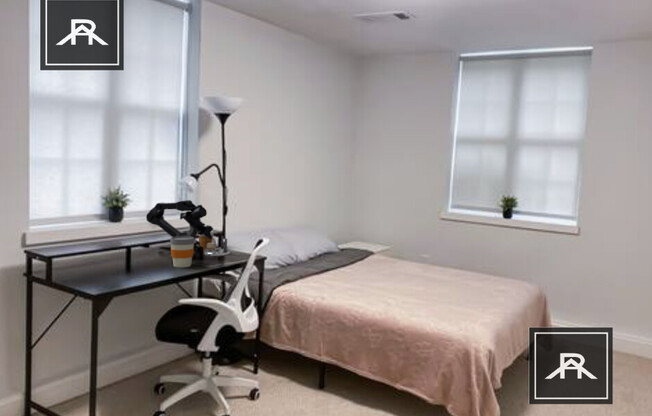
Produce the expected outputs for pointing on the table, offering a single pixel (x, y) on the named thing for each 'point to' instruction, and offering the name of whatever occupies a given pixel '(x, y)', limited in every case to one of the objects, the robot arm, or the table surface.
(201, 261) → the table surface
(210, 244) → the link block
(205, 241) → the disposable coffee cup
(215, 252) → the index wheel
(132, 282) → the table surface
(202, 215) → the robot arm
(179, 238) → the reusable coffee cup
